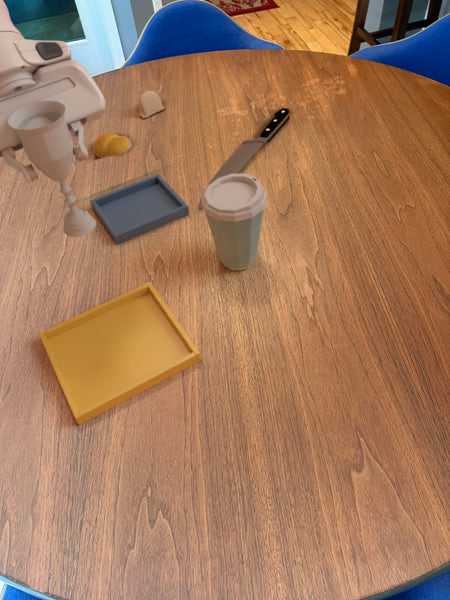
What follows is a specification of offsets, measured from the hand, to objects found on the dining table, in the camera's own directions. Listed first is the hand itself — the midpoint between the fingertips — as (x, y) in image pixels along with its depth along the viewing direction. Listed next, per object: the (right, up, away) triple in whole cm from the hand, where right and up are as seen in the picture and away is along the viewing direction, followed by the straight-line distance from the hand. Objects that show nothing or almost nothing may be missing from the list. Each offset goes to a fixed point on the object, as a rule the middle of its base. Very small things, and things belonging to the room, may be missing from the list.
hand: (59, 169), depth 65 cm
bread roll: (-4, +17, +48) cm, 51 cm away
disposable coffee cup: (+25, -10, +22) cm, 34 cm away
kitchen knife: (+28, +14, +42) cm, 53 cm away
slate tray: (+5, 0, +32) cm, 33 cm away
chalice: (0, -7, +8) cm, 11 cm away
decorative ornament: (+4, +31, +60) cm, 67 cm away
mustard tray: (+6, -26, +10) cm, 28 cm away
